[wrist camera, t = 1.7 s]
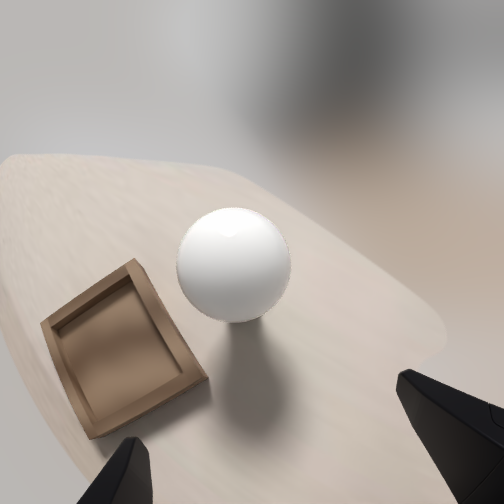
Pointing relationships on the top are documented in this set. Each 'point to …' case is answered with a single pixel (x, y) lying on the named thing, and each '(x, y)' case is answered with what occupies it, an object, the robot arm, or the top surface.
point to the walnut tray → (119, 352)
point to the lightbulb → (233, 265)
